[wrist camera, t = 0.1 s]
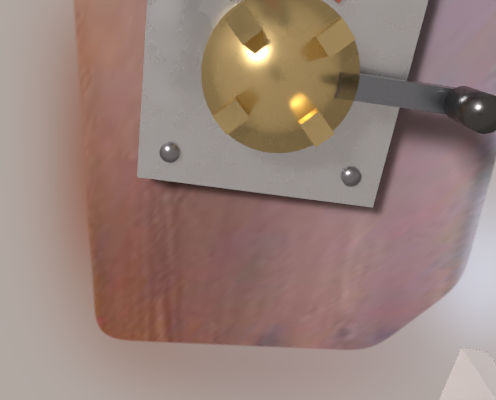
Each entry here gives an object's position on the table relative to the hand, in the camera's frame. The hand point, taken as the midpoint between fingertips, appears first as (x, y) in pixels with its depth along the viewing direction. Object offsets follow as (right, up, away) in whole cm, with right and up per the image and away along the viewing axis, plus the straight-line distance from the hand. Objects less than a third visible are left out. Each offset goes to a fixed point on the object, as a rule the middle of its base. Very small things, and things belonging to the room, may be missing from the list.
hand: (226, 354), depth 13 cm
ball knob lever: (+7, +13, +22) cm, 27 cm away
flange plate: (+3, +15, +24) cm, 28 cm away
